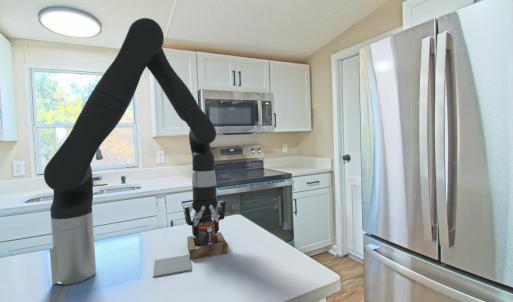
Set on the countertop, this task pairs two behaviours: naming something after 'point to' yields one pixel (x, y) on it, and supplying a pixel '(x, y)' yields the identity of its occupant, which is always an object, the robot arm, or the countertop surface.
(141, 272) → the countertop surface
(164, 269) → the mat
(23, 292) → the countertop surface
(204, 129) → the robot arm
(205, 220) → the supplement bottle
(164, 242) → the countertop surface
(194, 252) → the socket collar
